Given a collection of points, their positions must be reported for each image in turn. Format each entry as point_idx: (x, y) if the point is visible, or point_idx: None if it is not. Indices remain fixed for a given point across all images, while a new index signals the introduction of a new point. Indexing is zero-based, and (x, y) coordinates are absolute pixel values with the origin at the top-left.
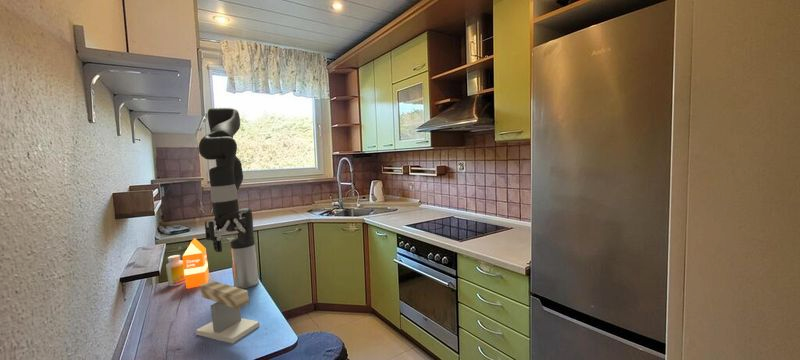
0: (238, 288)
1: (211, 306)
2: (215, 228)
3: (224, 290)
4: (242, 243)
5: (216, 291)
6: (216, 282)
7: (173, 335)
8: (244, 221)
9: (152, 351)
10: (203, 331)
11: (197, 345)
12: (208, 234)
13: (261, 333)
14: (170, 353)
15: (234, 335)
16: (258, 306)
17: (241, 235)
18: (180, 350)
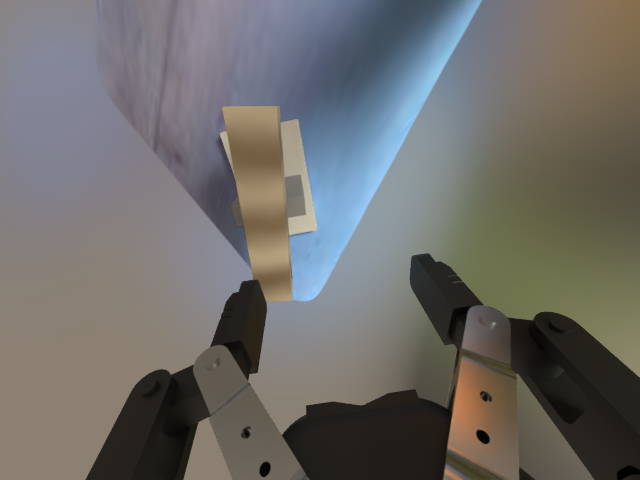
0: (287, 270)
1: (231, 210)
2: (226, 459)
3: (257, 249)
4: (410, 281)
5: (244, 222)
6: (274, 151)
7: (177, 67)
8: (584, 446)
9: (126, 107)
10: (229, 158)
11: (210, 182)
12: (139, 437)
13: (303, 249)
14: (161, 160)
15: None
16: (377, 138)
17: (436, 324)
18: (180, 169)
